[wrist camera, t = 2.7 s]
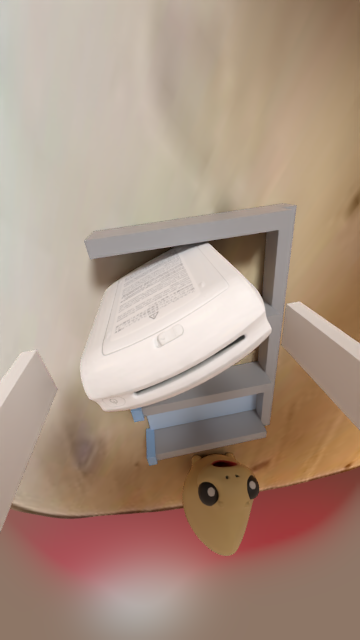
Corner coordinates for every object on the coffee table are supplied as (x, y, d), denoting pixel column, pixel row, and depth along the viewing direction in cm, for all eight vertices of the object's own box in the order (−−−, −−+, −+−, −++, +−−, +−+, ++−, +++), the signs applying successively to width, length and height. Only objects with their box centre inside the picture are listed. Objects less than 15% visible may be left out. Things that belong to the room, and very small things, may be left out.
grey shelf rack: (85, 232, 18) (73, 243, 15) (282, 203, 19) (311, 207, 16) (148, 436, 31) (149, 465, 28) (262, 412, 32) (276, 438, 29)
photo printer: (125, 324, 22) (112, 448, 12) (97, 287, 20) (49, 400, 10) (222, 271, 21) (304, 357, 11) (203, 226, 19) (280, 279, 9)
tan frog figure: (250, 428, 34) (290, 518, 25) (233, 474, 40) (261, 561, 31) (182, 433, 32) (199, 532, 23) (175, 480, 38) (186, 574, 29)
